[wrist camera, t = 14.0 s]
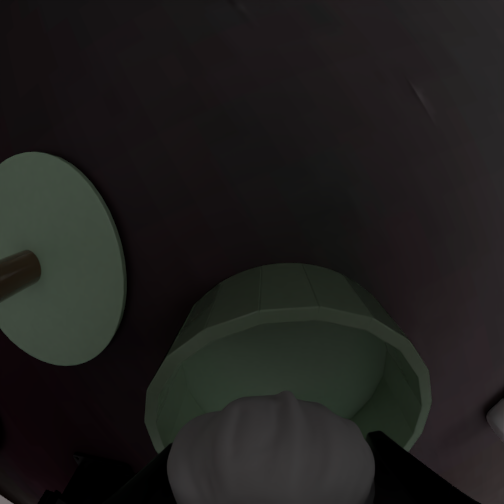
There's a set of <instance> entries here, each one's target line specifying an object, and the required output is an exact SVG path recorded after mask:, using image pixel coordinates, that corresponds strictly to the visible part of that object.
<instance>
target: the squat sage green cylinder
mask: <svg viewBox="0 0 504 504" xmlns="http://www.w3.org/2000/svg"><path fill="white" fill-rule="evenodd" d="M282 391H290V392H292V393H293V395H294V396H295V398H296V399H300V400H303V401H311V402H317V403H320V404H322V405H324V406H325V407H327V408H328V409H329V410H330V411H332V412H333V413H334V414H336V415H338V416H340V417H342V418H345V419H349V420H351V421H353V422H354V423H355V424H356V425H357V426H358V427H359V429H360V431H361V433H362V435H363V438H364V440H366V435H367V433H368V432H372V431H377V430H380V431H382V432H383V433H385V434H386V435H387V436H388V437H390V438H391V439H392V440H393V441H395V442H396V443H397V444H398V445H400V446H401V447H402V448H404V449H405V450H406V451H407V452H409V450H410V449H411V448H412V446H413V445H414V444H415V442H416V441H417V439H418V438H419V437H420V435H421V433H422V432H423V429H424V426H425V423H426V420H427V417H428V414H429V410H430V407H431V403H432V398H431V387H430V377H429V371H428V368H427V367H426V365H425V363H424V362H423V360H422V359H421V357H420V355H419V354H418V352H417V351H416V349H415V348H414V346H413V345H412V343H411V341H410V340H409V339H408V338H407V336H406V335H405V334H404V333H403V331H402V330H401V329H400V328H399V327H398V325H397V324H396V323H395V322H394V320H393V319H392V318H391V317H390V316H389V314H388V313H387V312H386V311H385V310H384V308H383V307H382V306H381V305H380V304H379V302H378V301H377V300H376V299H375V298H374V296H373V295H372V294H371V293H370V292H368V291H367V290H365V289H364V288H363V287H361V286H360V285H359V284H358V283H356V282H355V281H353V280H351V279H350V278H348V277H346V276H345V275H343V274H340V273H338V272H335V271H333V270H331V269H327V268H323V267H320V266H316V265H309V264H301V263H279V264H270V265H264V266H260V267H256V268H252V269H248V270H246V271H243V272H241V273H238V274H236V275H233V276H231V277H230V278H228V279H226V280H224V281H222V282H221V283H219V284H218V285H216V286H215V287H214V288H212V289H211V290H210V291H208V292H207V293H206V294H205V295H204V296H203V297H202V298H201V299H200V300H199V301H198V302H196V303H195V305H194V306H193V307H192V309H191V311H190V312H189V314H188V316H187V317H186V319H185V321H184V322H183V324H182V326H181V327H180V329H179V331H178V333H177V334H176V336H175V338H174V340H173V342H172V344H171V345H170V347H169V349H168V351H167V353H166V355H165V356H164V358H163V360H162V362H161V364H160V366H159V368H158V369H157V371H156V373H155V375H154V377H153V379H152V381H151V382H150V384H149V386H148V388H147V393H146V406H145V424H146V427H147V430H148V433H149V435H150V438H151V440H152V443H153V445H154V448H155V450H156V452H157V453H158V454H159V453H160V452H161V451H162V450H163V449H164V448H165V447H166V446H168V445H169V444H170V443H173V442H174V439H175V437H176V435H177V434H178V432H179V431H180V429H181V428H182V427H183V426H184V425H185V424H186V423H188V422H189V421H190V420H192V419H193V418H195V417H197V416H200V415H203V414H206V413H209V412H215V411H221V410H222V409H223V408H225V407H226V406H227V405H228V404H229V403H230V402H232V401H234V400H236V399H238V398H241V397H248V396H266V395H275V394H278V393H280V392H282Z"/></svg>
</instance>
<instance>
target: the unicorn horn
mask: <svg viewBox="0 0 504 504" xmlns="http://www.w3.org/2000/svg"><path fill="white" fill-rule="evenodd" d="M486 418H487V421H488V423H489V425H490V427H491V428H492V430H493V431H494V432H495V434H496V435H497V436H498V437H499V438H500V439H501V440H502V441H503V442H504V398H502V399H501V400H500V401H499V402H498V403H497V404H496V405H495V406H493V407H492V408H491V409H490V410H489V411H488V413H487V416H486Z"/></svg>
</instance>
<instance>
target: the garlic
mask: <svg viewBox="0 0 504 504" xmlns="http://www.w3.org/2000/svg"><path fill="white" fill-rule="evenodd" d="M167 474H168V479H169V483H170V486H171V489H172V492H173V495H174V497H175V500H176V502H177V504H373V501H374V496H375V479H374V475H375V462H374V457H373V453H372V451H371V448H370V447H369V445H368V443H367V442H366V441H365V440H364V438H363V435H362V433H361V431H360V429H359V427H358V426H357V425H356V424H355V423H354V422H353V421H351V420H349V419H345V418H342V417H340V416H338V415H336V414H334V413H333V412H332V411H330V410H329V409H328V408H327V407H325V406H324V405H322V404H320V403H317V402H311V401H303V400H300V399H296V398H295V396H294V395H293V393H292V392H290V391H282V392H280V393H278V394H275V395H266V396H248V397H241V398H238V399H236V400H234V401H232V402H230V403H229V404H228V405H227V406H226V407H225V408H223V409H222V410H221V411H215V412H209V413H206V414H203V415H200V416H197V417H195V418H193V419H192V420H190V421H189V422H188V423H186V424H185V425H184V426H183V427H182V428H181V429H180V431H179V432H178V434H177V435H176V437H175V439H174V442H173V444H172V447H171V450H170V453H169V456H168V460H167Z"/></svg>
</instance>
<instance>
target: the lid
mask: <svg viewBox="0 0 504 504" xmlns="http://www.w3.org/2000/svg"><path fill="white" fill-rule="evenodd" d="M126 293H127V275H126V266H125V258H124V253H123V248H122V243H121V240H120V237H119V234H118V231H117V227H116V225H115V222H114V220H113V218H112V215H111V213H110V211H109V209H108V207H107V205H106V204H105V202H104V200H103V198H102V196H101V195H100V194H99V192H98V191H97V189H96V188H95V187H94V185H93V184H92V183H91V181H90V180H89V179H88V178H87V177H86V176H85V175H84V174H83V173H82V172H81V171H80V170H79V169H77V168H76V167H75V166H74V165H72V164H71V163H69V162H68V161H66V160H64V159H62V158H61V157H58V156H55V155H53V154H49V153H43V152H25V153H21V154H17V155H15V156H12V157H10V158H8V159H6V160H5V161H4V162H2V163H1V164H0V329H1V330H2V331H3V332H4V334H5V335H6V336H7V337H8V338H9V339H10V340H11V341H12V342H13V343H15V344H16V345H17V346H18V347H19V348H21V349H22V350H23V351H25V352H26V353H28V354H29V355H31V356H33V357H35V358H37V359H39V360H41V361H44V362H47V363H50V364H55V365H62V366H70V365H78V364H81V363H85V362H87V361H89V360H91V359H93V358H95V357H96V356H97V355H98V354H100V353H101V352H102V351H103V350H104V349H105V348H106V346H107V345H108V344H109V343H110V342H111V341H112V339H113V337H114V336H115V334H116V332H117V330H118V328H119V325H120V323H121V320H122V317H123V312H124V308H125V302H126Z"/></svg>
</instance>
